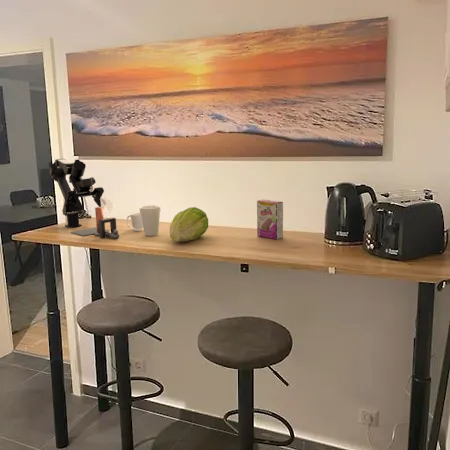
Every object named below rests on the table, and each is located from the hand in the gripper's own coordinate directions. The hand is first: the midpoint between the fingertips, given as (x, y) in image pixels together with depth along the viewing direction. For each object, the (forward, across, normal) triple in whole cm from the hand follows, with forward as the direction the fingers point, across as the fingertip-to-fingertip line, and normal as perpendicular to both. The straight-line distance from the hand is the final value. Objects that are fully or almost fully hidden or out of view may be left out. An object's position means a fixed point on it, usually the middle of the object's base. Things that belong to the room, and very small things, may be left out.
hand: (92, 208), depth 230 cm
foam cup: (+26, +16, -8) cm, 32 cm away
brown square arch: (+18, 0, 0) cm, 18 cm away
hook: (+17, 0, +1) cm, 17 cm away
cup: (+16, +17, +2) cm, 23 cm away
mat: (+6, 0, +11) cm, 13 cm away
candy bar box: (+59, +46, -41) cm, 86 cm away
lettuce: (+42, +19, -24) cm, 51 cm away
